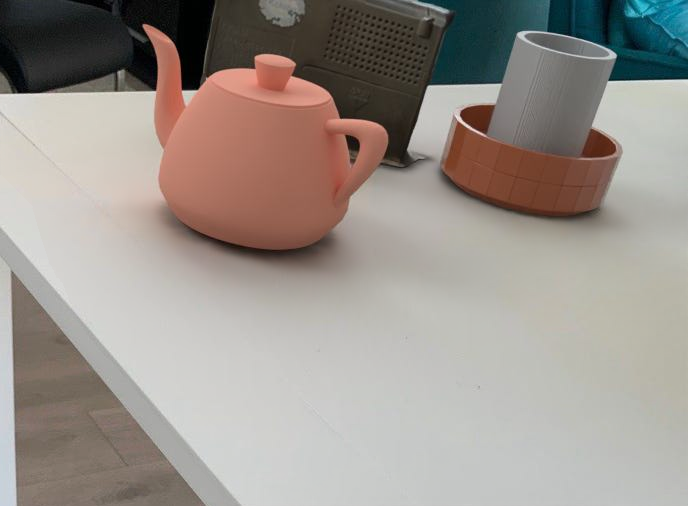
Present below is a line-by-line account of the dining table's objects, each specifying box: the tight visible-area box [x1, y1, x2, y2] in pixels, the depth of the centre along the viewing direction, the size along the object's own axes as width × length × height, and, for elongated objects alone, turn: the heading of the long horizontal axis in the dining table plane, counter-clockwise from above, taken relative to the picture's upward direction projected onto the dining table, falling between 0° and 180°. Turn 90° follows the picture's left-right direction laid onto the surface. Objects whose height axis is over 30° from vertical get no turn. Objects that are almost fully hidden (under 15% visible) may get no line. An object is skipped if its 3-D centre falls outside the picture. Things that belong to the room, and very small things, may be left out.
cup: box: [487, 30, 618, 158], centre depth 97 cm, size 9×9×12 cm
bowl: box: [439, 102, 624, 217], centre depth 99 cm, size 16×16×6 cm
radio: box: [199, 0, 457, 168], centre depth 99 cm, size 23×9×15 cm, turn 70°
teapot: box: [142, 23, 388, 251], centre depth 80 cm, size 22×15×12 cm
